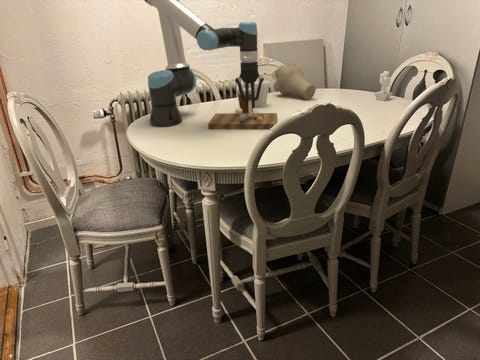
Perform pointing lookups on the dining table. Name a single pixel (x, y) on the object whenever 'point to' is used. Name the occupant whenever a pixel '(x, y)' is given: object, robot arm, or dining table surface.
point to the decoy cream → (238, 111)
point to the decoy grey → (241, 118)
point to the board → (250, 123)
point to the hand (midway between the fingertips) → (250, 115)
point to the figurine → (384, 87)
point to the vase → (293, 82)
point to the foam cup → (261, 94)
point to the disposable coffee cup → (242, 102)
